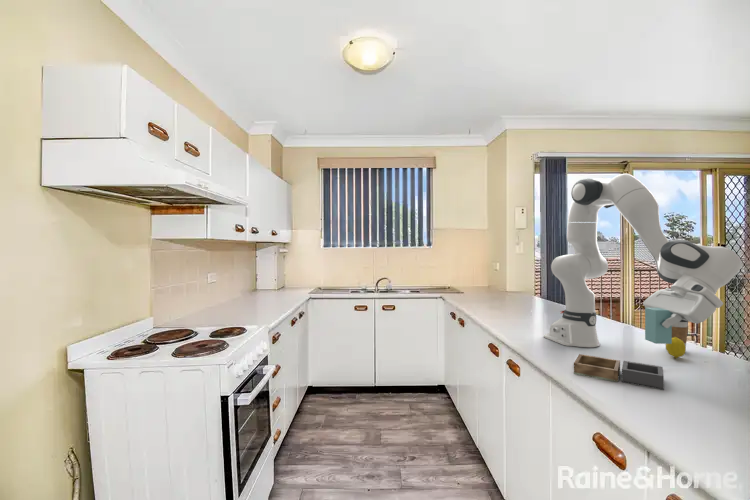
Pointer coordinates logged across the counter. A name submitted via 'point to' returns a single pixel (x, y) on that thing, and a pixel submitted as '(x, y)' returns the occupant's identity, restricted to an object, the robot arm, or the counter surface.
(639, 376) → the box
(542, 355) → the counter surface
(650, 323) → the teal block
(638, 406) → the counter surface
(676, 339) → the lemon
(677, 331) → the coffee cup
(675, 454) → the counter surface
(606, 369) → the walled bay
